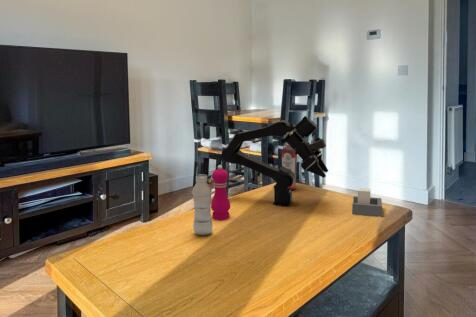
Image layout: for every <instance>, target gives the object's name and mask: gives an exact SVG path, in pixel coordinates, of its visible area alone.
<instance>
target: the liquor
mask: <svg viewBox="0 0 476 317" xmlns="http://www.w3.org/2000/svg"><path fill="white" fill-rule="evenodd" d="M289 133H291V134H293V133H294V130H293V131H292V132H288V133H287V134H286V136H287V135H288V134H289ZM294 150H295V149H294ZM294 150H293V149H292V148H291V147H290V146H289V145H288V144H287V143H286V146H285V147H283V148H281V167H282V166H284V167H285V168H287V169H291V171H292V172H294V173H295V176H296V175H297V162H298V154H297V155H296V154H295V151H294ZM296 177H297V176H296ZM296 180H297V179H296ZM296 180H295V182H294V183H293V184H292V186H290V187H289V189H291V191H294V190H295V189H296V188H297V186H296V184H297V183H296Z"/></svg>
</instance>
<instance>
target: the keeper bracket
mask: <svg viewBox="0 0 476 317" xmlns="http://www.w3.org/2000/svg"><path fill="white" fill-rule="evenodd" d="M352 200H353V201H352V204H351V206H352V207H351V209H352V210H351V215H359V216H367V215H368V216H370V217H378V216H381V217H382V212H383V202H382V201H383V200H382V197H372V196H370V204H361V203H358V195H354V196H353V198H352ZM368 216H367V217H368Z"/></svg>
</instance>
